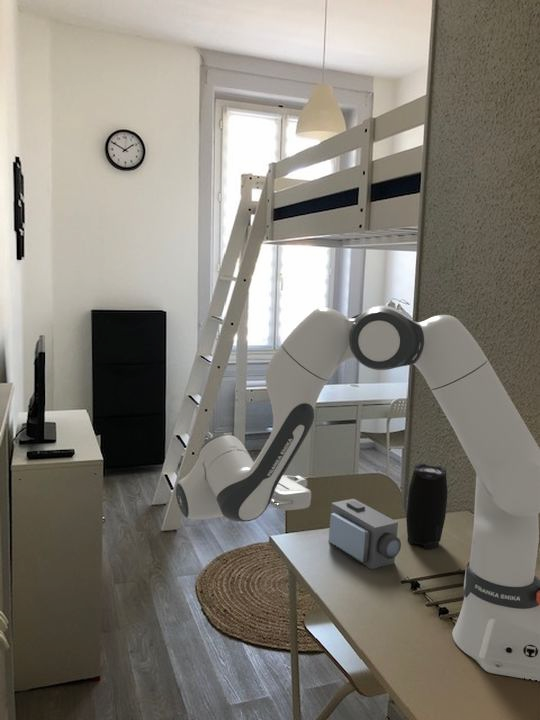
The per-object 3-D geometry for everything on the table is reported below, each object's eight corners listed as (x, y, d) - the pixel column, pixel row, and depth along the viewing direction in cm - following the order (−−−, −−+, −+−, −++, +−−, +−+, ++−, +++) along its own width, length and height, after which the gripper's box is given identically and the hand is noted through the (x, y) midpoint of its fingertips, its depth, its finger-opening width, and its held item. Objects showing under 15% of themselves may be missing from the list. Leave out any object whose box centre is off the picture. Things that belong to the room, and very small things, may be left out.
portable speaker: (399, 535, 157) (406, 462, 155) (433, 535, 159) (441, 462, 156) (411, 550, 149) (419, 473, 146) (447, 550, 150) (455, 473, 148)
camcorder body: (402, 568, 140) (406, 523, 138) (379, 574, 136) (383, 529, 134) (350, 535, 155) (353, 495, 154) (328, 541, 152) (331, 499, 150)
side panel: (368, 562, 139) (371, 532, 138) (364, 563, 138) (367, 533, 137) (332, 540, 149) (334, 512, 148) (328, 541, 148) (330, 513, 147)
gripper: (277, 491, 119) (333, 482, 127) (228, 461, 137) (280, 454, 144) (275, 522, 120) (331, 511, 128) (226, 488, 138) (278, 480, 145)
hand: (303, 481), depth 136 cm, fingers closed
